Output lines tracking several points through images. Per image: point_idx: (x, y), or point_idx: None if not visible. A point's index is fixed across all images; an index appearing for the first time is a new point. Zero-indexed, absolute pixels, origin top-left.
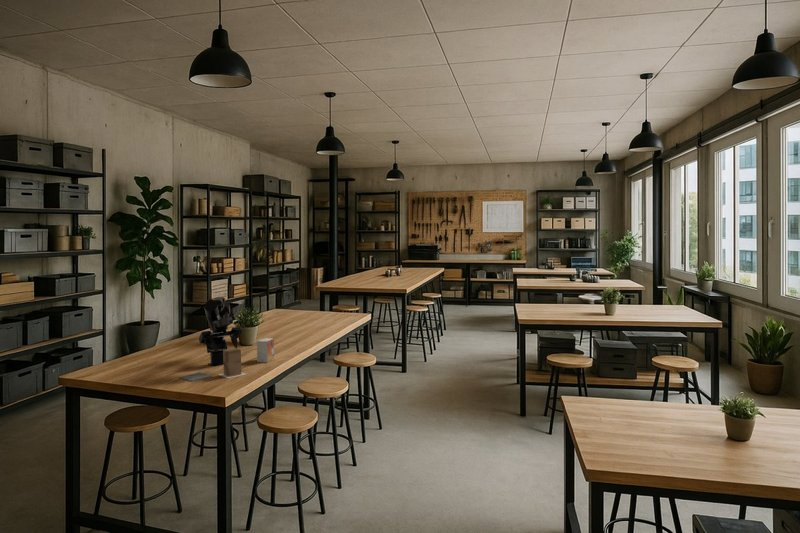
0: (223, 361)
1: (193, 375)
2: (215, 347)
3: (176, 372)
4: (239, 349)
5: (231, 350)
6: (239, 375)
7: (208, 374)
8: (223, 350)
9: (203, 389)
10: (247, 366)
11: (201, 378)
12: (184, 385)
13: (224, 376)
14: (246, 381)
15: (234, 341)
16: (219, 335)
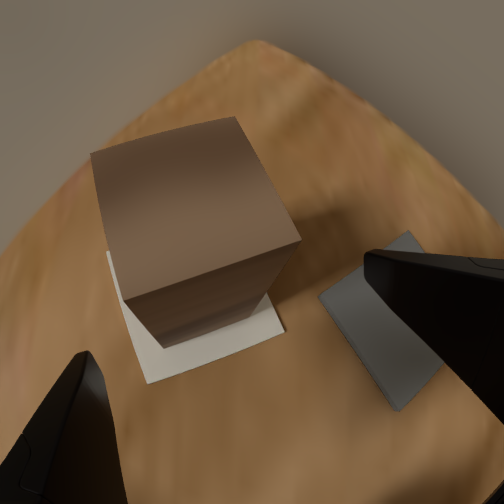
0: (267, 287)
1: (422, 341)
2: (411, 252)
3: (481, 458)
4: (95, 174)
5: (196, 164)
6: None
7: (347, 333)
8: (294, 231)
9: (335, 113)
10: None
11: None
12: (420, 199)
13: None
14: (149, 131)
15: (82, 453)
16: (489, 500)
